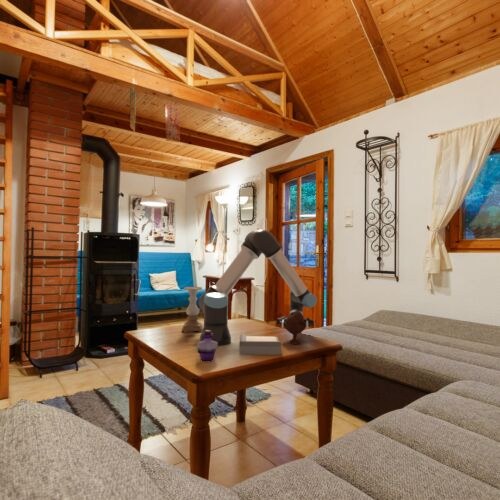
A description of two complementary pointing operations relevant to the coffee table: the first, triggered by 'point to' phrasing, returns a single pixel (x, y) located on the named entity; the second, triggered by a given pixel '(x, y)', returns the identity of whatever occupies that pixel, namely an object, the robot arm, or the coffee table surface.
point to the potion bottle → (207, 346)
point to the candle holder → (192, 311)
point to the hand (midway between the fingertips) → (294, 325)
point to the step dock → (259, 345)
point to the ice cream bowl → (295, 326)
